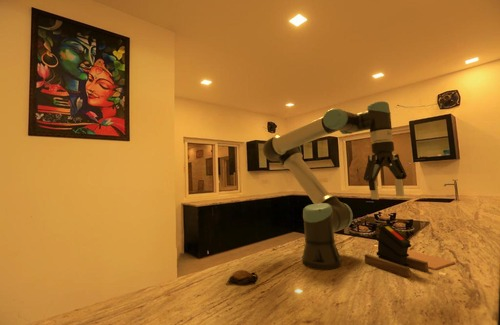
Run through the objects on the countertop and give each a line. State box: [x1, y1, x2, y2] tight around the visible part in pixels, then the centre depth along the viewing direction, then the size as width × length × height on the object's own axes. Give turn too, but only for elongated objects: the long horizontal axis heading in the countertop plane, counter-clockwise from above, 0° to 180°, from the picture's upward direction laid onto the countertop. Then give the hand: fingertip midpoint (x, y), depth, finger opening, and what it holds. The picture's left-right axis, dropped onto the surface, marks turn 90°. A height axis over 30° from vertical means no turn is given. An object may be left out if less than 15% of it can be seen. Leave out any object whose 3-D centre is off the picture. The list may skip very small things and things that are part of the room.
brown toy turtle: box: [225, 269, 259, 286], centre depth 85 cm, size 11×8×4 cm
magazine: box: [376, 223, 412, 267], centre depth 89 cm, size 4×13×15 cm, turn 12°
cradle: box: [364, 253, 430, 279], centre depth 88 cm, size 11×17×3 cm, turn 22°
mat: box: [407, 249, 456, 271], centre depth 94 cm, size 12×18×1 cm, turn 22°
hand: (388, 197), depth 90 cm, fingers open, 13 cm apart
